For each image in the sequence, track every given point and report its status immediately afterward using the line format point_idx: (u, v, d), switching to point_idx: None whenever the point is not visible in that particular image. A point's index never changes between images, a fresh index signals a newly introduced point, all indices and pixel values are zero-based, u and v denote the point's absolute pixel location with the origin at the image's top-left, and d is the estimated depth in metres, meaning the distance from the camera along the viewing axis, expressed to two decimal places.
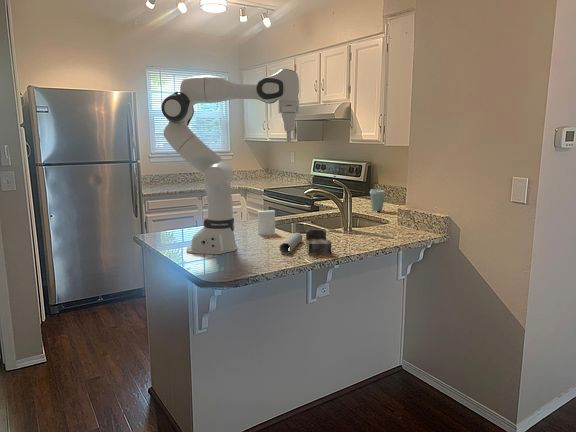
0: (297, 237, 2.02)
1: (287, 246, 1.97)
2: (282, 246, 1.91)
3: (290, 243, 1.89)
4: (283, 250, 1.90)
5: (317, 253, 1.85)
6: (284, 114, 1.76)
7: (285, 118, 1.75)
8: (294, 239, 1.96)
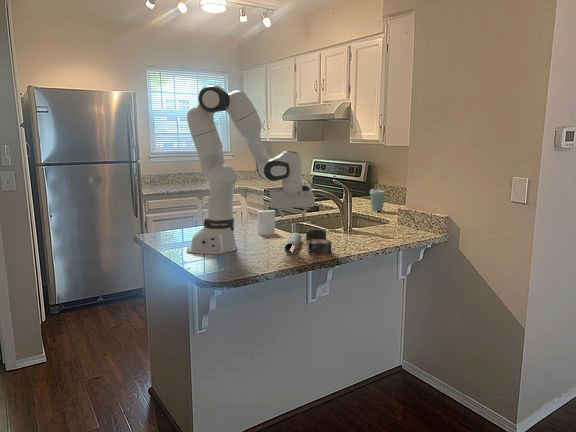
0: (298, 237, 2.02)
1: (289, 246, 1.97)
2: (286, 246, 1.90)
3: (294, 243, 1.89)
4: (287, 250, 1.90)
5: (317, 253, 1.85)
6: (312, 193, 1.93)
7: (313, 196, 1.94)
8: (296, 239, 1.96)
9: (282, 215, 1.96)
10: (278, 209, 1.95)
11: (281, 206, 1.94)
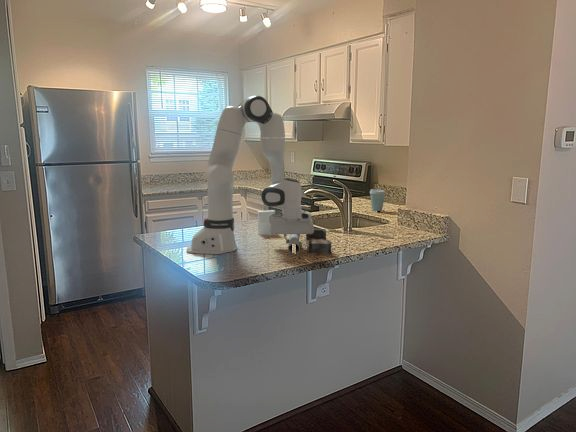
0: None
1: (290, 246, 1.97)
2: (289, 247, 1.90)
3: (297, 243, 1.89)
4: (290, 251, 1.89)
5: (317, 253, 1.85)
6: (311, 220, 1.95)
7: None
8: (297, 239, 1.96)
9: (287, 241, 1.98)
10: None
11: (280, 232, 1.96)
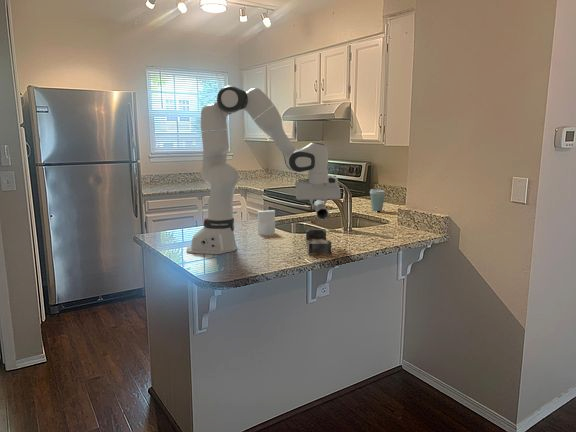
0: None
1: (317, 213, 1.94)
2: (316, 212, 1.87)
3: None
4: (318, 216, 1.87)
5: (317, 253, 1.85)
6: (338, 185, 1.92)
7: (339, 188, 1.93)
8: (324, 206, 1.93)
9: (313, 207, 1.95)
10: (310, 201, 1.94)
11: (307, 198, 1.93)
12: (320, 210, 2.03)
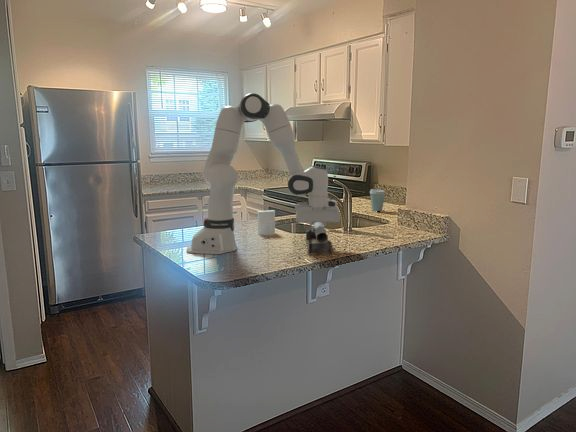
0: None
1: (316, 235, 1.96)
2: (316, 235, 1.89)
3: (325, 232, 1.88)
4: (317, 239, 1.89)
5: (317, 253, 1.85)
6: None
7: None
8: (323, 228, 1.95)
9: (313, 229, 1.97)
10: (309, 223, 1.96)
11: (307, 220, 1.95)
12: None
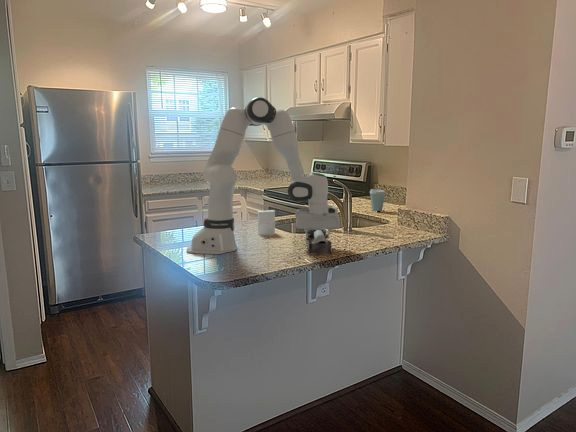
0: (323, 234, 2.02)
1: None
2: None
3: (325, 240, 1.89)
4: None
5: (317, 253, 1.85)
6: (338, 215, 1.95)
7: None
8: (323, 237, 1.96)
9: (308, 236, 1.98)
10: (304, 230, 1.97)
11: (307, 227, 1.96)
12: None
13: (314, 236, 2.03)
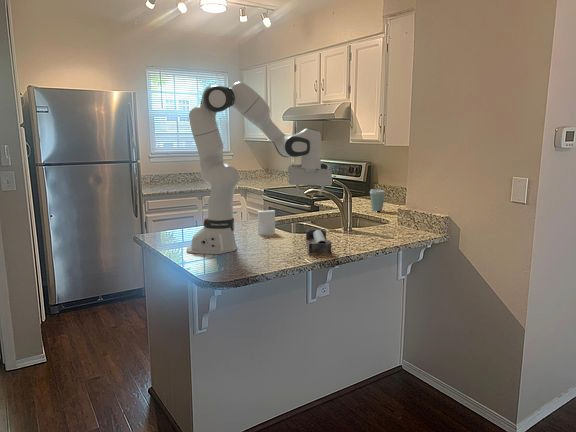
0: (322, 234, 2.02)
1: None
2: None
3: None
4: None
5: (317, 253, 1.85)
6: (330, 171, 1.95)
7: (331, 175, 1.96)
8: (323, 237, 1.96)
9: (299, 192, 1.98)
10: (296, 186, 1.98)
11: (299, 183, 1.97)
12: None
13: None
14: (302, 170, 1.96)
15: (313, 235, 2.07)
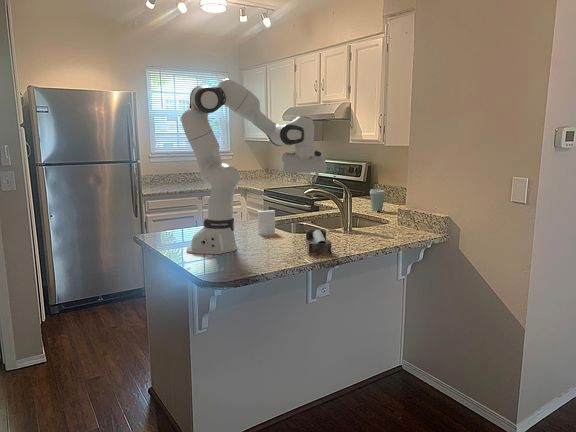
0: (322, 234, 2.02)
1: None
2: None
3: None
4: None
5: (317, 253, 1.85)
6: None
7: None
8: (323, 237, 1.96)
9: (294, 180, 2.01)
10: None
11: (293, 171, 1.99)
12: None
13: (313, 236, 2.03)
14: (296, 158, 1.98)
15: None
